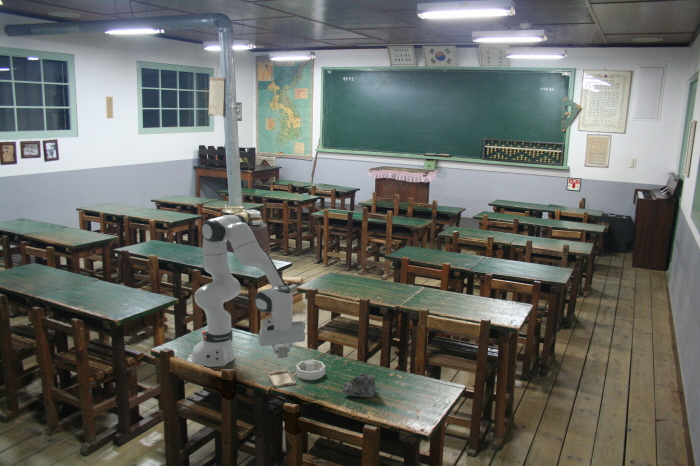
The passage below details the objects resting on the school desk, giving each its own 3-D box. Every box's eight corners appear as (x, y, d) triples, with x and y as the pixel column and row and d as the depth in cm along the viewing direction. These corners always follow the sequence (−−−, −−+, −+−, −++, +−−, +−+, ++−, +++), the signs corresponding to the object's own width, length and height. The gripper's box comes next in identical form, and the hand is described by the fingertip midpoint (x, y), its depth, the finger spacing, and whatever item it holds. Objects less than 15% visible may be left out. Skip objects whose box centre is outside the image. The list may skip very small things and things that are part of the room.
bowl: (301, 383, 243) (301, 373, 243) (293, 371, 255) (293, 362, 254) (327, 378, 248) (327, 369, 247) (319, 367, 259) (319, 358, 258)
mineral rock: (341, 396, 232) (341, 374, 230) (352, 385, 242) (352, 364, 240) (368, 403, 227) (369, 381, 225) (379, 392, 236) (379, 370, 234)
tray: (273, 388, 238) (273, 385, 237) (267, 376, 249) (266, 372, 249) (296, 385, 241) (296, 381, 241) (288, 372, 253) (288, 369, 253)
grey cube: (306, 373, 251) (306, 364, 250) (303, 369, 254) (303, 361, 254) (314, 372, 252) (314, 363, 251) (311, 368, 256) (311, 359, 255)
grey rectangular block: (278, 358, 238) (278, 348, 237) (276, 354, 241) (276, 345, 240) (287, 357, 239) (287, 347, 238) (285, 353, 243) (285, 344, 242)
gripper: (303, 317, 244) (302, 346, 247) (257, 322, 236) (257, 352, 239) (307, 323, 238) (306, 352, 241) (260, 328, 230) (260, 358, 233)
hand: (281, 352), depth 240 cm, fingers closed on grey rectangular block, 4 cm apart
